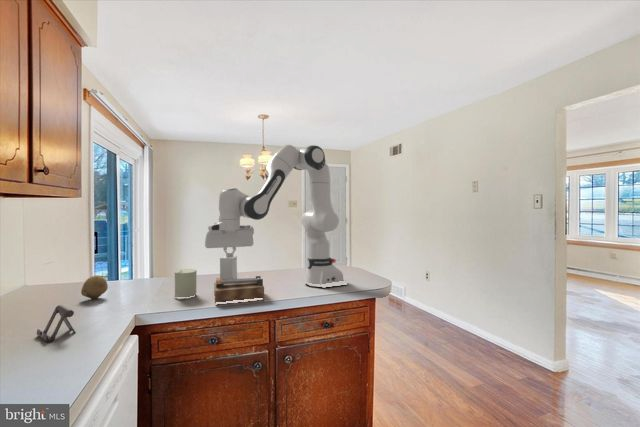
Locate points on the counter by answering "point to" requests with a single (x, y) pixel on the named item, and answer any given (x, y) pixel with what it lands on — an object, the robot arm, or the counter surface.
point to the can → (185, 282)
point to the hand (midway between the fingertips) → (229, 257)
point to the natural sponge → (94, 287)
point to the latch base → (238, 291)
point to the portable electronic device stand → (64, 314)
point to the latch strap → (236, 280)
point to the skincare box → (228, 268)
